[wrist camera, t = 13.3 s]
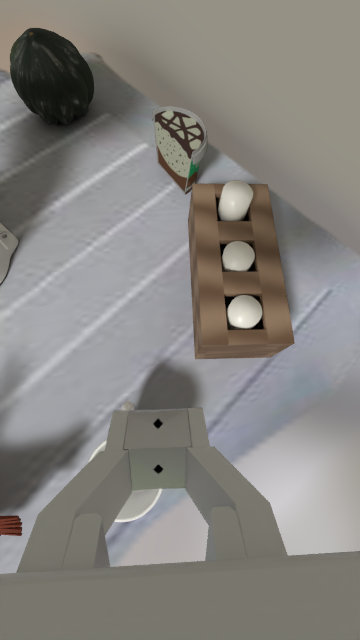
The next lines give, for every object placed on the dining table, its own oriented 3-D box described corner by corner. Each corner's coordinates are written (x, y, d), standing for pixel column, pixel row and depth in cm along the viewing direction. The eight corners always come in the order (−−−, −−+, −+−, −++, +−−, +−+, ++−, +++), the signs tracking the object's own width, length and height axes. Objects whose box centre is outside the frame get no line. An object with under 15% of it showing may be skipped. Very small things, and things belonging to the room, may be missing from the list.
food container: (214, 186, 56) (224, 138, 47) (189, 199, 55) (194, 154, 45) (178, 146, 59) (180, 95, 50) (153, 158, 58) (151, 108, 48)
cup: (104, 499, 38) (83, 527, 28) (104, 405, 41) (85, 401, 32) (166, 492, 38) (167, 516, 29) (160, 400, 42) (159, 395, 33)
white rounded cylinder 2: (246, 283, 44) (256, 267, 40) (218, 284, 44) (225, 268, 39) (243, 259, 46) (252, 241, 41) (216, 259, 46) (222, 241, 41)
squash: (66, 42, 60) (-1, -16, 46) (118, 79, 58) (64, 30, 44) (44, 112, 66) (-21, 79, 52) (90, 148, 64) (34, 123, 50)
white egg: (253, 336, 42) (264, 325, 37) (223, 336, 41) (230, 326, 37) (249, 308, 43) (260, 294, 38) (220, 308, 43) (227, 295, 38)
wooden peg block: (270, 357, 45) (294, 343, 37) (195, 359, 44) (202, 344, 36) (251, 221, 54) (267, 184, 45) (188, 221, 53) (192, 183, 44)
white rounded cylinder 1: (245, 227, 45) (254, 204, 40) (217, 227, 44) (223, 204, 40) (242, 204, 46) (251, 180, 41) (215, 204, 46) (221, 180, 41)
